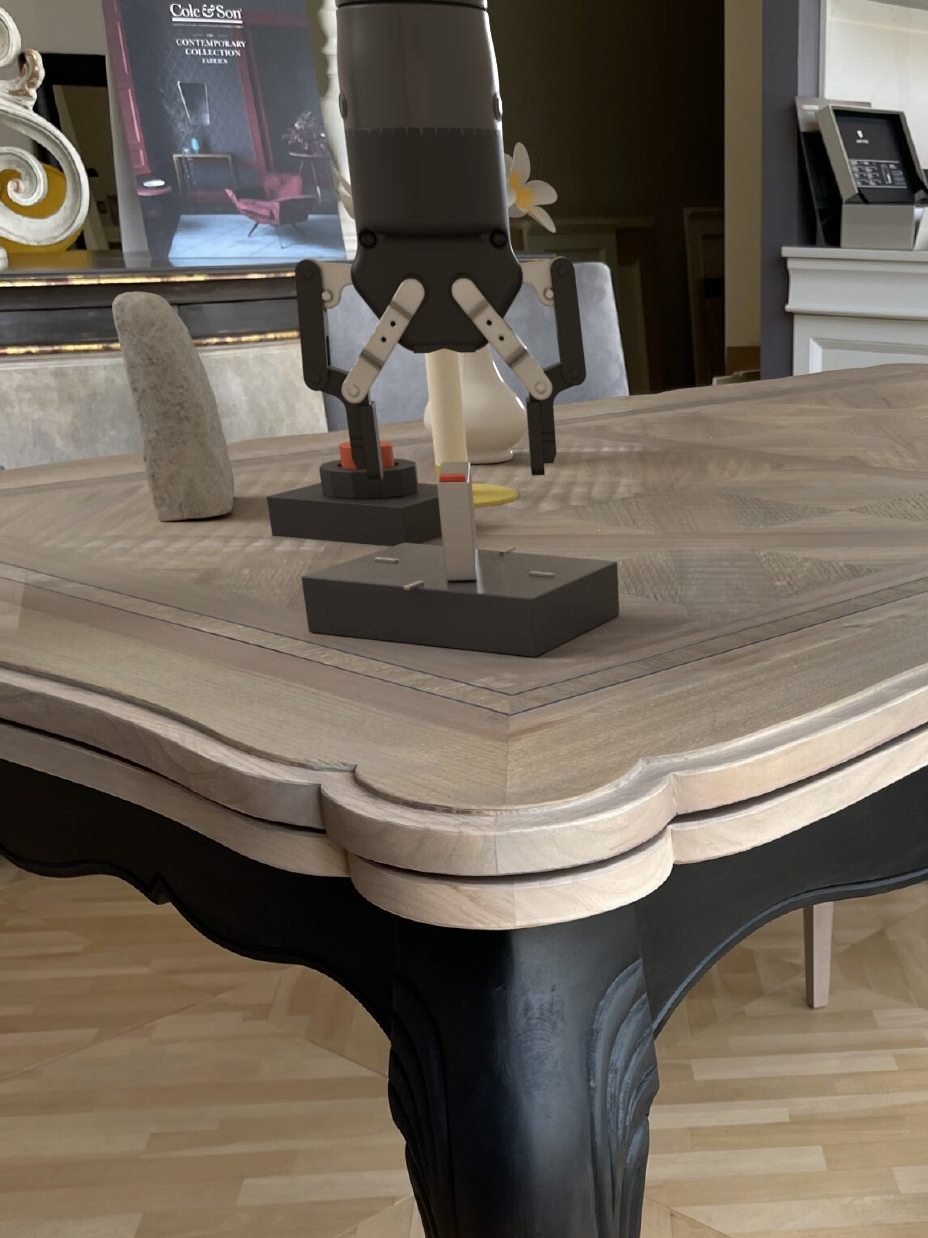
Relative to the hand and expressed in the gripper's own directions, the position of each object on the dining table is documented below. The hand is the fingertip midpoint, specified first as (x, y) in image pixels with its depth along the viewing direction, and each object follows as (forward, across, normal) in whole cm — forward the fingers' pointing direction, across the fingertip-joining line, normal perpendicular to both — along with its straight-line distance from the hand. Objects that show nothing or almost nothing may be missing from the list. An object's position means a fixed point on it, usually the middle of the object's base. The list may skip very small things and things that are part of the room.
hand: (457, 476), depth 81 cm
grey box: (+5, 0, 0) cm, 5 cm away
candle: (+8, +2, -41) cm, 42 cm away
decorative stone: (+8, +21, -38) cm, 44 cm away
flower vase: (+8, 0, -61) cm, 62 cm away
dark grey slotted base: (+8, 0, 0) cm, 8 cm away
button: (+4, +7, -28) cm, 29 cm away
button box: (+8, +7, -28) cm, 30 cm away
